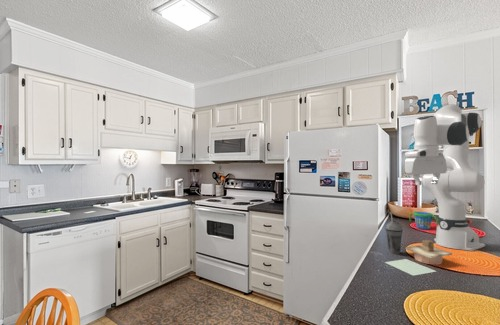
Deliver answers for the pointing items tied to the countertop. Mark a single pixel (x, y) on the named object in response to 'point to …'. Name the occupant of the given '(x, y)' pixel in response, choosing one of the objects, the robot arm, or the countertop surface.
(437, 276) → the countertop surface
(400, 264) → the mat
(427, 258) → the bowl
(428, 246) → the cover
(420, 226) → the snack cup
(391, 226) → the beverage cup
